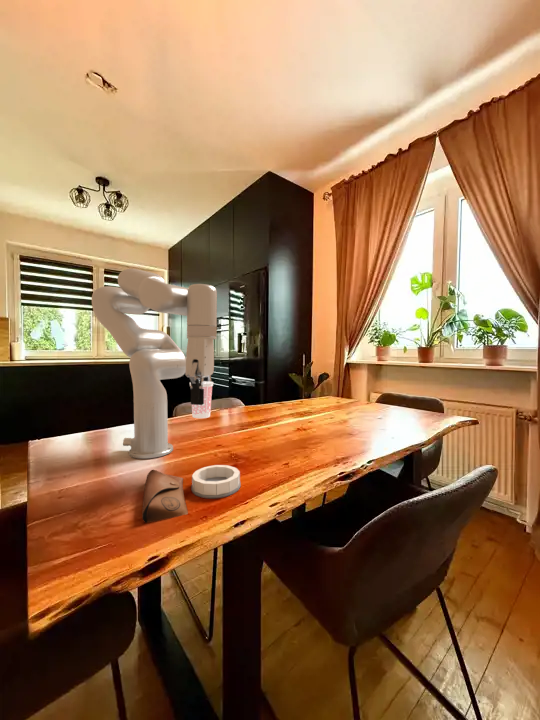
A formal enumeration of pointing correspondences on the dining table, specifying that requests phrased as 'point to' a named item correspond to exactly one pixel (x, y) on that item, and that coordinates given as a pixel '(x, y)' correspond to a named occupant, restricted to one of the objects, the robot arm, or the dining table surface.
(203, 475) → the cup holder ring
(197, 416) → the beverage cup
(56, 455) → the dining table surface
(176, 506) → the sunglasses case
